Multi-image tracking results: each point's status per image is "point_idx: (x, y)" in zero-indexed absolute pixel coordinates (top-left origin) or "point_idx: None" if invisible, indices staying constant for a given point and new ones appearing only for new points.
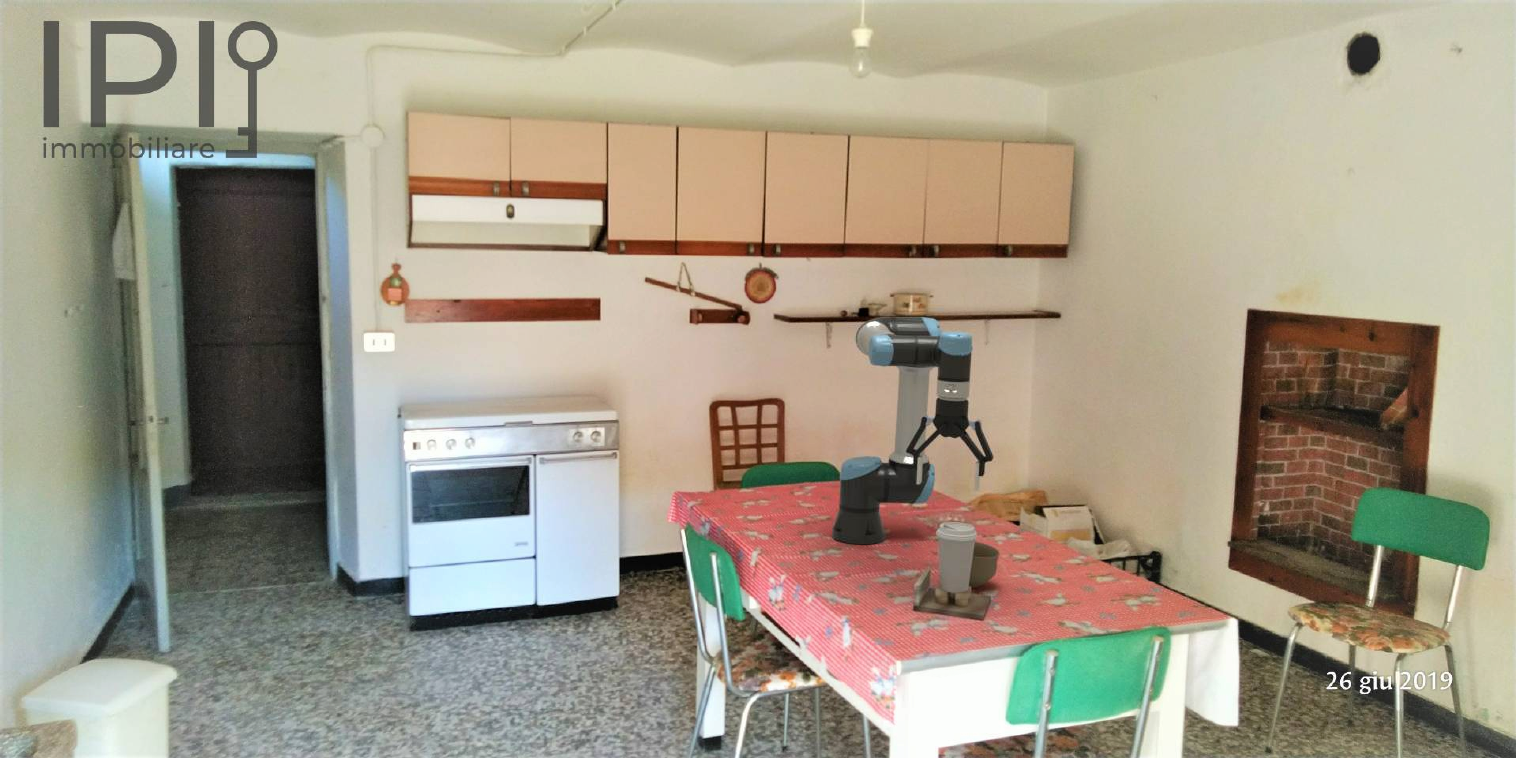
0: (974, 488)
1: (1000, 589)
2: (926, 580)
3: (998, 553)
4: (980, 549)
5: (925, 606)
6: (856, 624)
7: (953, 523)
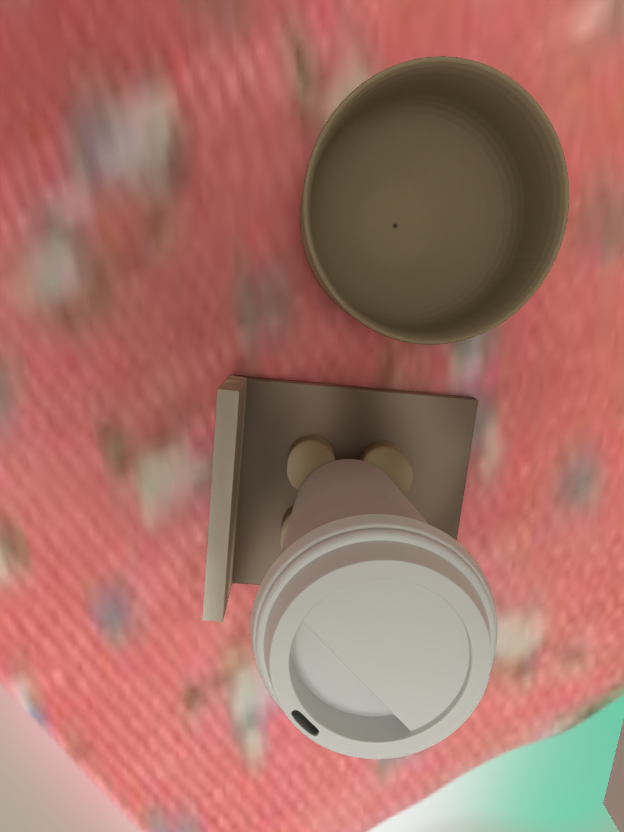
0: (618, 823)
1: None
2: (235, 470)
3: (562, 206)
4: (467, 86)
5: (255, 578)
6: (71, 737)
7: (352, 583)
